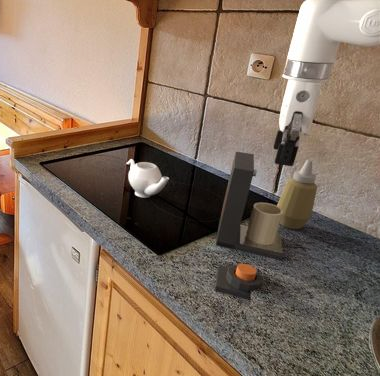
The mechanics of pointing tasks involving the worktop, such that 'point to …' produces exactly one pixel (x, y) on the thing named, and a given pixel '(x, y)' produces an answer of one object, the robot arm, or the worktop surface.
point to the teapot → (146, 179)
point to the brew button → (246, 272)
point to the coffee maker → (233, 211)
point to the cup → (264, 223)
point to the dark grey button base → (236, 282)
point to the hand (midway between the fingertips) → (282, 156)
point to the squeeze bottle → (298, 198)
